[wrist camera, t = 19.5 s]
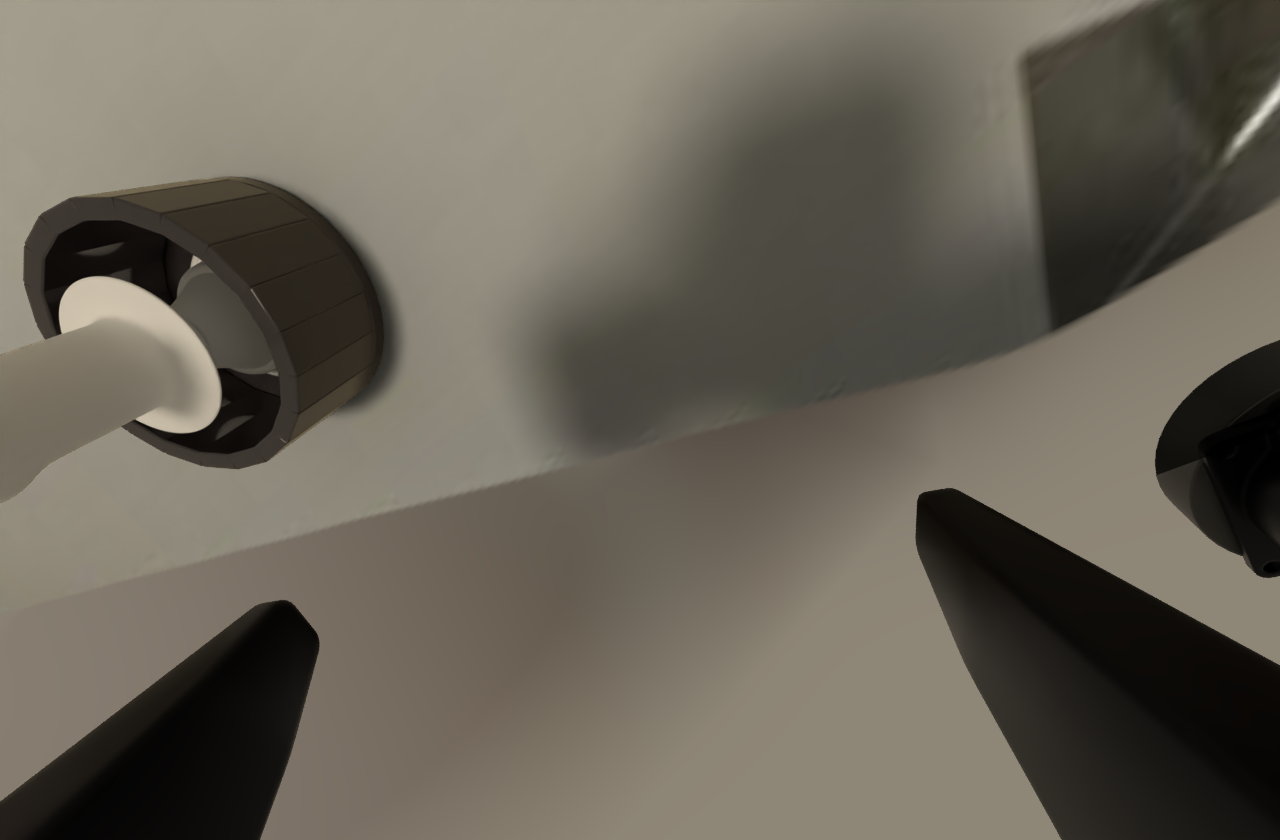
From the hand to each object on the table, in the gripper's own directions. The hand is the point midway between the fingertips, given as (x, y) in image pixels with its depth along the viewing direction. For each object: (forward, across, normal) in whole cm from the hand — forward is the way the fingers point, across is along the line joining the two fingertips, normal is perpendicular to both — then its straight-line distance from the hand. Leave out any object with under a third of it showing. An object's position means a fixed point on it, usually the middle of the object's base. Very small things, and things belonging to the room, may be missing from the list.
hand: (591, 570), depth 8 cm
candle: (+14, +12, -2) cm, 18 cm away
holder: (+14, +12, -2) cm, 19 cm away
